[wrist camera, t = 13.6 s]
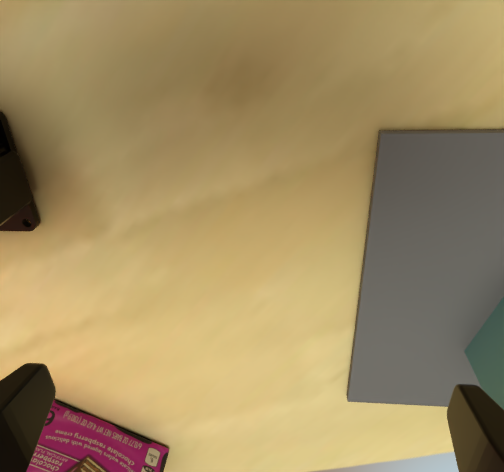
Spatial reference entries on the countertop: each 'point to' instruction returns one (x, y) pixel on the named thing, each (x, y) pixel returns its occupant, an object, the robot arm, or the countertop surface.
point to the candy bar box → (92, 446)
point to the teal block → (490, 355)
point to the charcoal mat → (428, 264)
